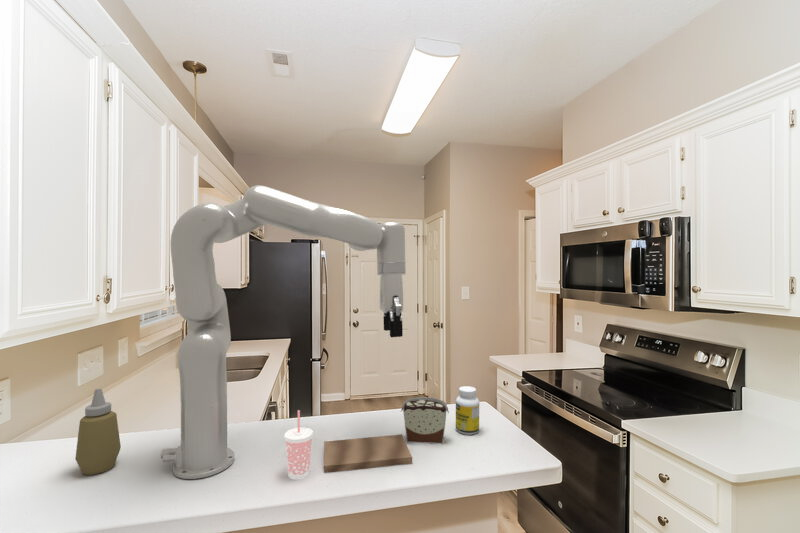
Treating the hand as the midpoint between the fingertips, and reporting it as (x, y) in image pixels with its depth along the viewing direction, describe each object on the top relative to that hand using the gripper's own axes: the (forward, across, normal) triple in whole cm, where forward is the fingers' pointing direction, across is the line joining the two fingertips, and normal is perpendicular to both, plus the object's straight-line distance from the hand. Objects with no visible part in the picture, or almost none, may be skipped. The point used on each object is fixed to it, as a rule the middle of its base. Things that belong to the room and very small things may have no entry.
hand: (392, 333), depth 102 cm
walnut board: (+28, +8, -9) cm, 30 cm away
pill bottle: (+28, 0, +20) cm, 35 cm away
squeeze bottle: (+27, +2, -69) cm, 74 cm away
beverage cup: (+27, +14, -24) cm, 39 cm away
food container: (+28, +2, +8) cm, 29 cm away
